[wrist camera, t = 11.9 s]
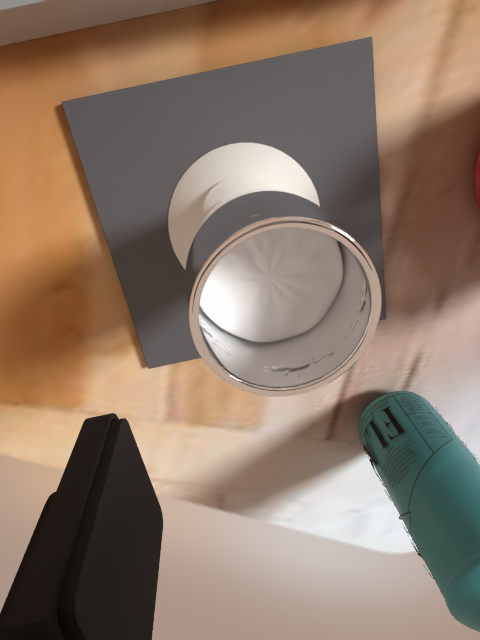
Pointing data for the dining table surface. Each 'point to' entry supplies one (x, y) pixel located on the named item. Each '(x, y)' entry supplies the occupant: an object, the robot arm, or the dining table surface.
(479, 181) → the plant pot
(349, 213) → the dark gray mat
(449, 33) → the dining table surface
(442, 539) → the beverage bottle
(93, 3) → the low wall
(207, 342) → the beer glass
